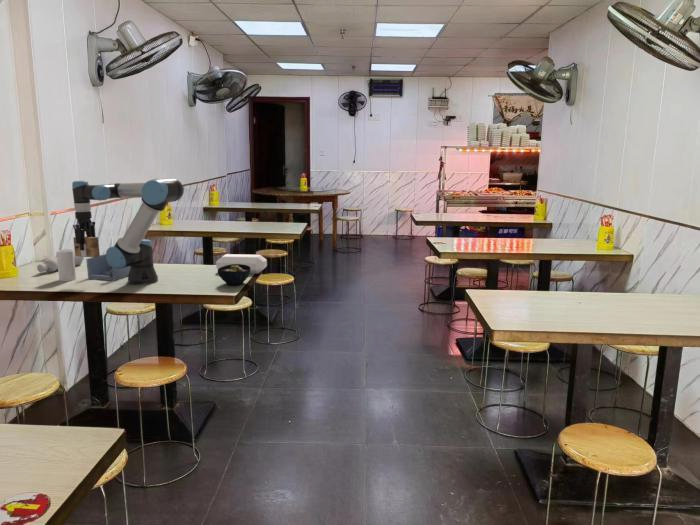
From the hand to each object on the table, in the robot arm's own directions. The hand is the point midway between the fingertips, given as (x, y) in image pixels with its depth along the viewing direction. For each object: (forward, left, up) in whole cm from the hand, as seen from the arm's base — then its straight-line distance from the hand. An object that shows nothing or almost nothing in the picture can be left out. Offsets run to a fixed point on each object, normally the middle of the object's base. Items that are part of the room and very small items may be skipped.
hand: (87, 255), depth 284 cm
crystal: (-64, -49, -16) cm, 82 cm away
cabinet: (+1, -17, -15) cm, 23 cm away
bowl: (-74, -21, -15) cm, 78 cm away
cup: (+18, -4, -15) cm, 24 cm away
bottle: (+42, -24, -16) cm, 51 cm away
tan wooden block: (0, 0, 0) cm, 0 cm away
